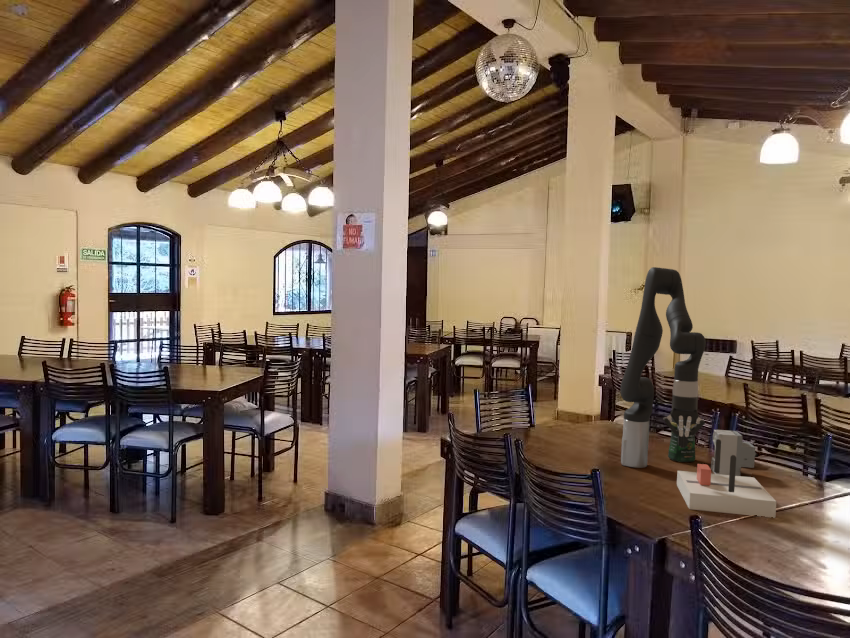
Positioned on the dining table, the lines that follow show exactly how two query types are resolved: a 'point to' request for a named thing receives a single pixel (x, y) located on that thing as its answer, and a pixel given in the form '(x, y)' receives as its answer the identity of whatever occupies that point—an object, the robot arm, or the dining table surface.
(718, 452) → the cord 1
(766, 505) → the board
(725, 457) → the circuit breaker
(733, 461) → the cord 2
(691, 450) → the coffee jar
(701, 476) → the block
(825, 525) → the dining table surface
